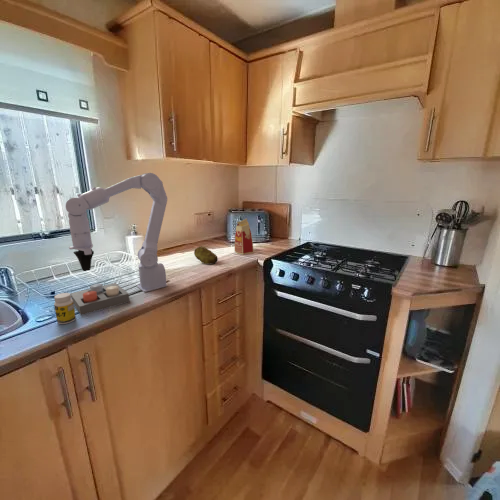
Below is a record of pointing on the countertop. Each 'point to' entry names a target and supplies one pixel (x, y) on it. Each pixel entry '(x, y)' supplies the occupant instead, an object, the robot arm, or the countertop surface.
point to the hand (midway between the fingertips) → (86, 270)
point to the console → (99, 300)
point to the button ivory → (112, 291)
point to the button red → (90, 296)
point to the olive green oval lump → (205, 255)
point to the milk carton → (243, 238)
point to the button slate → (97, 288)
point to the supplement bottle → (64, 308)
